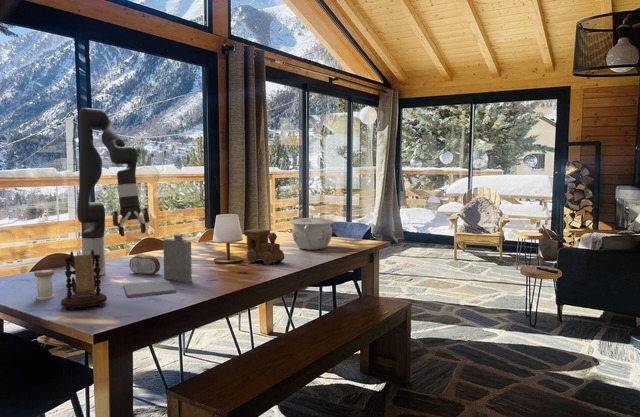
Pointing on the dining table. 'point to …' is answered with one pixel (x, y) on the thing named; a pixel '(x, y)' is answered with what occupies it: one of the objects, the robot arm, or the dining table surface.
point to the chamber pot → (312, 232)
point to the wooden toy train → (263, 246)
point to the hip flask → (177, 259)
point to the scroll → (83, 281)
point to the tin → (144, 264)
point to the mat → (148, 288)
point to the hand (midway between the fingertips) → (133, 234)
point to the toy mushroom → (44, 284)
